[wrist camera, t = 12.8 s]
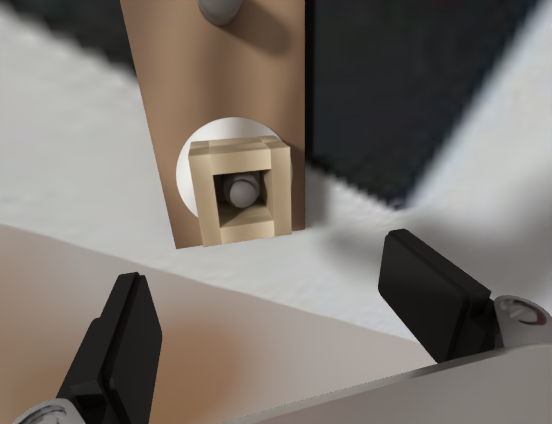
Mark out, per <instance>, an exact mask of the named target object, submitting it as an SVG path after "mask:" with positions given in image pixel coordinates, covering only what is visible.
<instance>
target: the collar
mask: <svg viewBox="0 0 552 424" xmlns="http://www.w3.org/2000/svg"><path fill="white" fill-rule="evenodd" d="M188 161H189V166H190V172H191V178H192V184H193V190H194V195H195V201H196V207H197V213H198V219H199V224H200V230H201V236H202V242H203V247H208V246H214V245H221V244H228V243H234V242H241V241H247V240H254V239H261V238H267V237H274V236H281V235H287V234H292V228H291V173H290V147H289V146H288V145H286V144H285V143H283V142H282V141H281V140H279V139H278V138H276V137H275V136H274V135H268V136H256V137H243V138H231V139H218V140H206V141H193V142H191V144H190V149H189V153H188ZM255 170H259V171H260V186H261V196H258V197H257V199H256V200H255V201H254V203H253V204H251V205H250V206H248V207H244V208H241V207H235V206H233V205H231V204H230V203H228V201H227V200H224V201H217V198H216V191H215V183H214V176H213V175H217V174H226V173H236V172H246V171H255Z"/></svg>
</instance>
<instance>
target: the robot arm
mask: <svg viewBox="0 0 552 424" xmlns="http://www.w3.org/2000/svg"><path fill="white" fill-rule="evenodd" d="M378 290H379V293H380V295H381V296H382V297H383V299H384V300H385V301H386V302H387V303H388V305H389V306H390V307H391V308H392V309H393V311H394V312H395V313H396V314H397V316H398V317H399V318H400V319H401V320H402V322H403V323H404V324H405V325H406V326H407V328H408V329H409V330H410V331H411V332H412V334H413V335H414V336H415V337H416V338H417V340H418V341H419V342H420V343H421V345H423V347H424V348H425V349H426V351H427V352H428V353H429V354H430V355H431V357H432V358H433V359H434V360H435V361H436V362H437V363H438V364H436V365H431V366H428V367H424V368H420V369H416V370H412V371H409V372H405V373H401V374H397V375H393V376H390V377H386V378H382V379H379V380H375V381H371V382H368V383H364V384H360V385H356V386H352V387H349V388H345V389H341V390H338V391H334V392H330V393H327V394H323V395H320V396H316V397H312V398H308V399H305V400H301V401H297V402H294V403H290V404H287V405H283V406H279V407H276V408H272V409H268V410H265V411H261V412H258V413H254V414H250V415H247V416H243V417H239V418H236V419H232V420H229V421H225V422H222V423H218V424H552V317H551V316H550V314H549V313H548V312H547V311H545V310H544V309H543V308H542V307H540V306H538V305H537V304H535V303H533V302H531V301H528V300H526V299H523V298H520V297H516V296H509V295H508V296H500V297H497V298H496V299H495V300H494V301H493V300H491V299H490V298H489V297H490V294H491V291H490V290H489V289H487V288H486V287H484V286H483V285H482V284H480V283H479V282H478V281H476V280H475V279H474V278H472V277H471V276H469V275H468V274H467V273H465V272H464V271H463V270H461V269H460V268H458V267H457V266H456V265H454V264H453V263H452V262H450V261H449V260H447V259H446V258H445V257H443V256H442V255H441V254H439V253H438V252H436V251H435V250H434V249H432V248H431V247H430V246H428V245H427V244H425V243H424V242H423V241H421V240H420V239H419V238H417V237H416V236H415V235H413V234H412V233H410V232H409V231H408V230H406V229H398V230H392V231H390V232H389V233H388V235H386V237H385V241H384V248H383V255H382V262H381V269H380V276H379V283H378ZM161 344H162V331H161V327H160V324H159V321H158V317H157V314H156V310H155V307H154V303H153V301H152V297H151V293H150V290H149V287H148V283H147V280H146V277H145V275H139V273H138V272H134V273H127V274H121V275H119V276H118V278H117V280H116V282H115V284H114V287H113V289H112V291H111V294H110V296H109V298H108V300H107V302H106V305H105V307H104V309H103V312H102V314H101V316H100V318H96V319H94V320H93V321H92V323H91V324H90V326H89V328H88V330H87V332H86V335H85V337H84V339H83V341H82V343H81V346H80V347H79V349H78V352H77V354H76V356H75V358H74V360H73V362H72V364H71V367H70V369H69V371H68V373H67V375H66V377H65V380H64V381H63V384H62V386H61V388H60V390H59V392H58V394H57V396H56V399H50V400H47V401H45V402H42V403H40V404H37V405H36V406H34V407H32V408H31V409H29V410H27V411H26V412H25V413H23V414H22V415H21V416H20V417H19V418H17V419H16V420H15V421H14V422H13V423H12V424H148V423H149V417H150V411H151V405H152V399H153V392H154V387H155V380H156V374H157V368H158V362H159V356H160V350H161Z"/></svg>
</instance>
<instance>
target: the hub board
mask: <svg viewBox="0 0 552 424" xmlns="http://www.w3.org/2000/svg"><path fill="white" fill-rule="evenodd" d="M120 3H121V7H122V12H123V16H124V21H125V25H126V29H127V34H128V38H129V43H130V47H131V51H132V56H133V60H134V65H135V69H136V74H137V78H138V82H139V87H140V91H141V96H142V100H143V105H144V109H145V113H146V118H147V122H148V127H149V131H150V135H151V140H152V144H153V149H154V153H155V158H156V162H157V166H158V171H159V175H160V180H161V184H162V189H163V193H164V197H165V202H166V206H167V211H168V215H169V219H170V224H171V228H172V233H173V237H174V242H175V246H176V249H180V248H187V247H193V246H200V245H203V242H202V236H201V230H200V224H199V219H198V213H197V207H196V201H195V195H194V190H193V184H192V178H191V172H190V166H189V161H188V153H189V149H190V144H191V142H193V141H206V140H218V139H231V138H243V137H256V136H268V135H274V136H275V137H276V138H278V139H279V140H281V141H282V142H283V143H285V144H286V145H288V146H289V147H290V173H291V228H292V231H298V230H304V229H305V0H120ZM213 176H214V183H215V191H216V198H217V201H224V200H227V201H228V203H230V204H231V205H233V206H235V207H241V208H244V207H248V206H250V205H251V204H253V203H254V201H255V200H256V199H257V197H258V196H261V186H260V171H259V170H255V171H246V172H236V173H226V174H217V175H213Z"/></svg>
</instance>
